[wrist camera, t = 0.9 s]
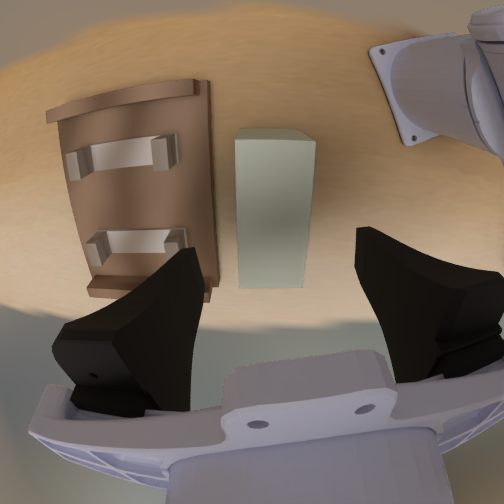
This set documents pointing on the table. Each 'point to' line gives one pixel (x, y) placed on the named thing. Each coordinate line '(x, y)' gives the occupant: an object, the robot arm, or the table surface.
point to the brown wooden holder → (140, 181)
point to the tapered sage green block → (273, 205)
